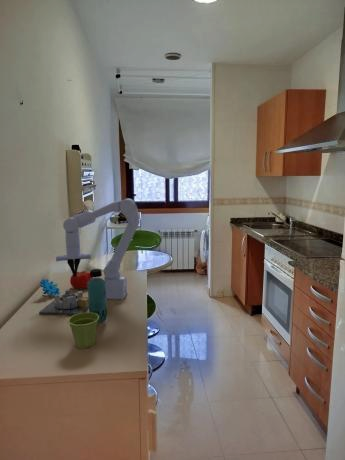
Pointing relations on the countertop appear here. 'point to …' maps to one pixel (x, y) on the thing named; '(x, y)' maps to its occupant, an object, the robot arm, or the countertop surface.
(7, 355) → the countertop surface
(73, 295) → the housing
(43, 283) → the gear
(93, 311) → the beverage bottle
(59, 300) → the grey block ring
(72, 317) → the plant pot
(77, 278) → the tomato
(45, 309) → the flange plate
